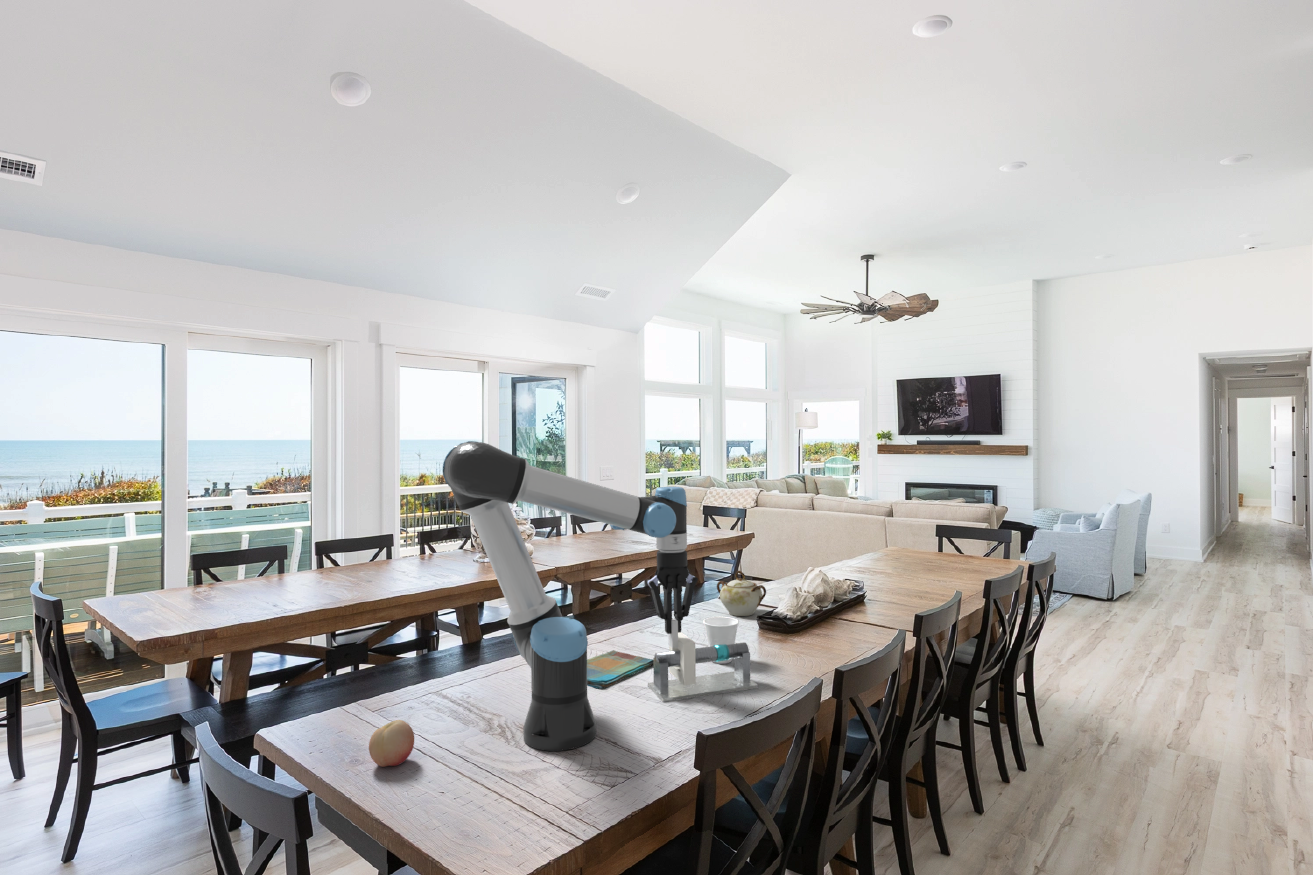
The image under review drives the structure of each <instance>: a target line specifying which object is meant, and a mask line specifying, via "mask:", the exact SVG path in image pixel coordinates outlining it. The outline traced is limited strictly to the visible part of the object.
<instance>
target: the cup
mask: <svg viewBox="0 0 1313 875" xmlns="http://www.w3.org/2000/svg"><path fill="white" fill-rule="evenodd" d="M702 623H703V625H704V631H705V635H706V636H705V637H706V642H707V647H711V646H713V645H721V644H726V645H727V644H736V637H737V631H738V625H739V624H740V623H739V620H738V619H737V618H734V617H729V616H711V617H707V618H704V619H703V621H702ZM731 662H733V659H728V660H727V661H719V662H715V661H712V663H714V664H719V665H725V664H729V663H731Z"/></svg>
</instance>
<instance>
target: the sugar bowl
mask: <svg viewBox="0 0 1313 875" xmlns="http://www.w3.org/2000/svg"><path fill="white" fill-rule="evenodd" d="M738 574H740V575H741V576H742V577H740V578H739V576H738ZM734 576H735V579H734V580H731V581H729V582H727V581H724V580H720V581H718V582H717V583H716V589H717V591H718V593H719V599H720V601H721V603H722V605H723V606H724V608H725V609H726V610H727V612H728V613H729V615H731V616H736V617H749V616H752V615H755V614H754V613H755V611H756V610H758V608H759V606H760V605H761V602H762V601H763V600H764V598H765V597H766V595H767V589H766V587H765V586H764V585H762V584H761V585H760V584H759V585H757V583H756V582H753V581H751V580H748V579H746V575H745V573H744V572H742V571H741V570H737V571H736V572H735V575H734ZM720 585H721V588H720Z"/></svg>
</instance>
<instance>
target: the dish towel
mask: <svg viewBox="0 0 1313 875" xmlns="http://www.w3.org/2000/svg"><path fill="white" fill-rule="evenodd" d="M651 667H653V658H649V657H648V658H647V657H643V656H639V655H633V654H630V653H627V652H621V651H618V650H617V651H616V650H614V649H613V650H611V651H608V652H605V653H602V654H599V655H595V656H593V657H591V658H587V687H590V688H594V689H597V690H604V689H607V688H608V687H611V686H613V685H615V684H616V683H618V682H620V681H622V680H623V679H626V678H628V677H630V676H633V675H635V674H637V673H639V672H641V671H642V672H643V671H644V670H646V669H648V668H651Z"/></svg>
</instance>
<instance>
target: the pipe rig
mask: <svg viewBox="0 0 1313 875" xmlns="http://www.w3.org/2000/svg"><path fill="white" fill-rule="evenodd" d="M653 656H654V657H653V658H652V659H653V666H652V667H653V682H648V683H647V687H648V688H649V689H650V690H651V691H652V693H653V694H655V695H656V696H657V698H659V700H660V701H661V702H662V703H665V702H666V703H667V702H672V701H673V702H674V701H679V700H687V699H692V698H699V697H705V696H706V697H708V696H712V695H719V694H726V693H727V694H728V693H733V692H734V693H735V692H740V691H741V692H742V691H747V690H755V689H758V688H759V685H758V684H757V683H756V682H755V681H753V680H751V652H750V649H749V645H748V644H747V642H737V643H736V642H735V644H727V645H726V644H721V645H713V646H711V647H708V646H705V647H704V646H703V647H698V648H697V647H695V662H696V664H704V663H711V662H712V661H715V662H719V661H727V660H728V659H732V660H733V663H734V664H733V665H734V666H733V669H734V671H727V672H720V673H712V674H704V675H698V676H696V684H691V685H683V684H682V683H681V682H680V681H679V680H677V679H676V678H675V679H670V680H669V667H674V666H680V650H678V651H670V652H669V651H663V652H655V654H654V655H653ZM712 663H713V662H712Z"/></svg>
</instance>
